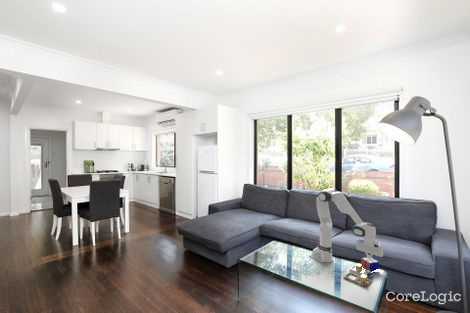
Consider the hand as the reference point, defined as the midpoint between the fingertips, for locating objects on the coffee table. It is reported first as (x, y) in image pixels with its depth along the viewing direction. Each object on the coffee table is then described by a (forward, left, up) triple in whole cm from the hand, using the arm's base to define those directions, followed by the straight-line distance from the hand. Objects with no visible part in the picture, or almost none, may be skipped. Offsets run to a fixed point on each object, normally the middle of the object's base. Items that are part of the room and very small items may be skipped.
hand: (369, 258), depth 195 cm
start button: (0, 0, -14) cm, 14 cm away
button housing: (0, 0, -17) cm, 17 cm away
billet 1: (-9, +3, -17) cm, 19 cm away
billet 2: (0, -12, -17) cm, 21 cm away
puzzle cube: (-3, +13, -17) cm, 22 cm away
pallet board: (-4, -12, -17) cm, 21 cm away
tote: (-9, +3, -17) cm, 20 cm away
